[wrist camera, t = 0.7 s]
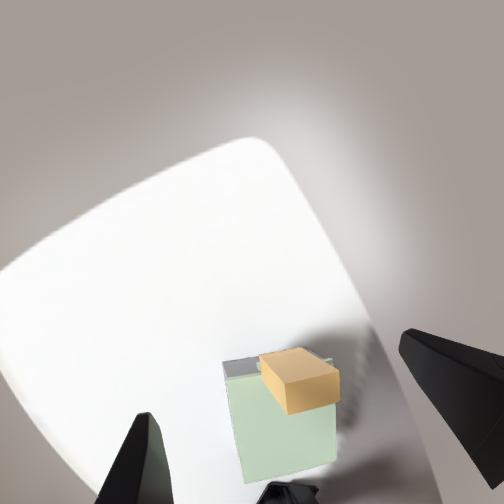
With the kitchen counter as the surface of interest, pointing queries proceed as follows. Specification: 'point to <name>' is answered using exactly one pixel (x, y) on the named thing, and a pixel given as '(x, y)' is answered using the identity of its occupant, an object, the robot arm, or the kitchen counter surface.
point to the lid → (285, 414)
